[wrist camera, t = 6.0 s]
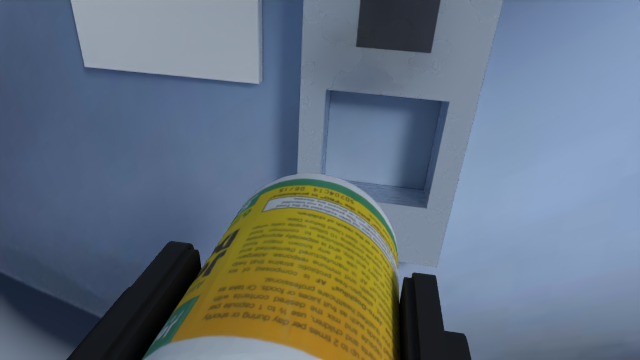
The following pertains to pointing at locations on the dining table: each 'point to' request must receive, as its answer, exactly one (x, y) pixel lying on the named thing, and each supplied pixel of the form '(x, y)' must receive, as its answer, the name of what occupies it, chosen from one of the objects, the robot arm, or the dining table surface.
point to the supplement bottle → (294, 281)
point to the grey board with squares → (399, 93)
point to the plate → (173, 37)
